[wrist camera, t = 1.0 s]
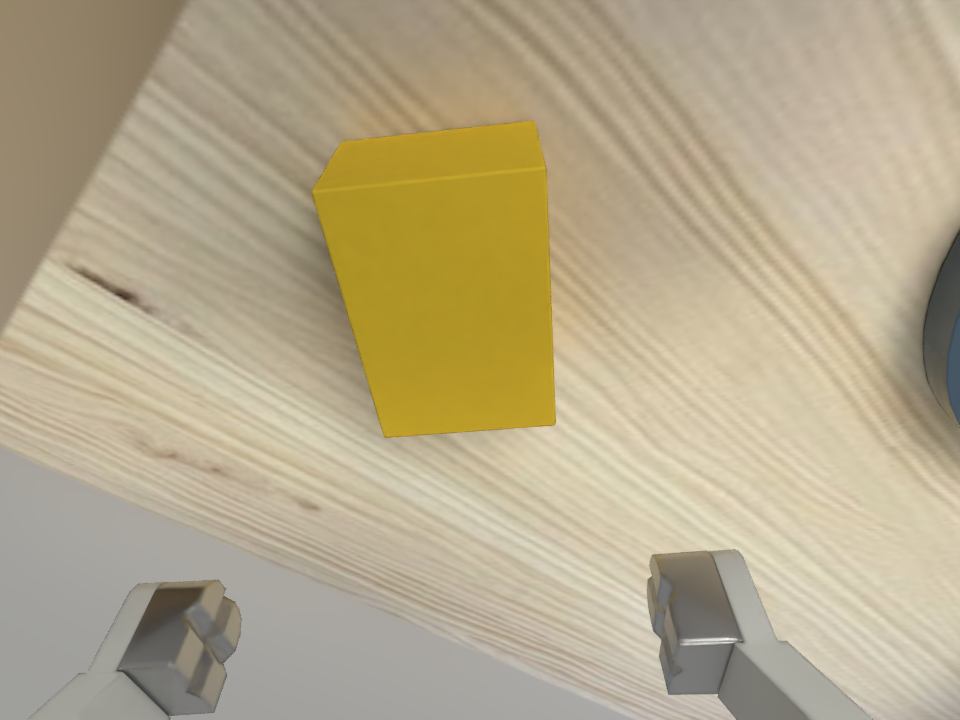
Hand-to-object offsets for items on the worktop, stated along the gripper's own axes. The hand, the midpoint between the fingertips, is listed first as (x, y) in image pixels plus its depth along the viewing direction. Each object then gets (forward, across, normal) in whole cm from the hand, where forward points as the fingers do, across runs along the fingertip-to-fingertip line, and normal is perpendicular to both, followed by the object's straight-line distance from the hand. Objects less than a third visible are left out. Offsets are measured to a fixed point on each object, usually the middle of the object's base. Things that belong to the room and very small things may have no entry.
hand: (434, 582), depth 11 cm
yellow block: (+12, 0, 0) cm, 12 cm away
